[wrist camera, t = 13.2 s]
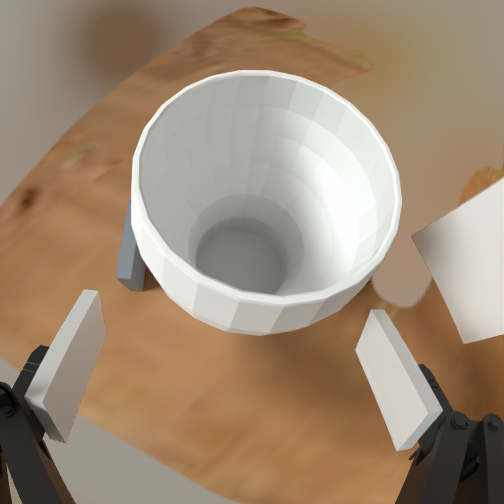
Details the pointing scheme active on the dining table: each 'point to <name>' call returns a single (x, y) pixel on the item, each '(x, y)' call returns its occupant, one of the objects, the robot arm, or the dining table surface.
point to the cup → (262, 201)
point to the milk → (470, 262)
